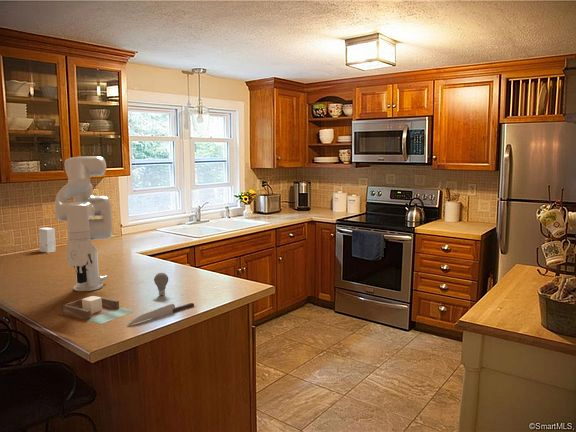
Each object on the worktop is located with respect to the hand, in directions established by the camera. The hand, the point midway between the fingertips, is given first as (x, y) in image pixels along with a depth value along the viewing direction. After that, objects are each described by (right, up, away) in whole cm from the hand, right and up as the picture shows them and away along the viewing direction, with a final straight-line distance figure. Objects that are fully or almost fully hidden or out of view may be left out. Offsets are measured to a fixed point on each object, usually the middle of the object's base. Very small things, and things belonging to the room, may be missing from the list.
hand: (82, 282), depth 184 cm
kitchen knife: (+32, -13, -3) cm, 34 cm away
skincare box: (-70, +3, +112) cm, 133 cm away
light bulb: (+25, -9, +22) cm, 35 cm away
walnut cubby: (+7, -12, -2) cm, 14 cm away
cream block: (+4, -11, 0) cm, 12 cm away
